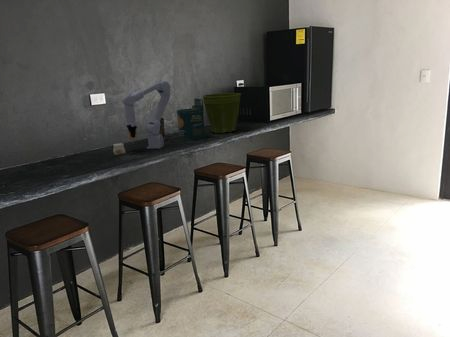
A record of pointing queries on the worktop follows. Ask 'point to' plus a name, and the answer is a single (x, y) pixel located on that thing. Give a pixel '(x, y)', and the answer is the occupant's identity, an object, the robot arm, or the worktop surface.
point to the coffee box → (162, 128)
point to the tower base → (119, 151)
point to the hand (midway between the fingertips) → (132, 136)
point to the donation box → (191, 122)
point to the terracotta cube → (131, 137)
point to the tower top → (118, 146)
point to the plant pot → (222, 111)
